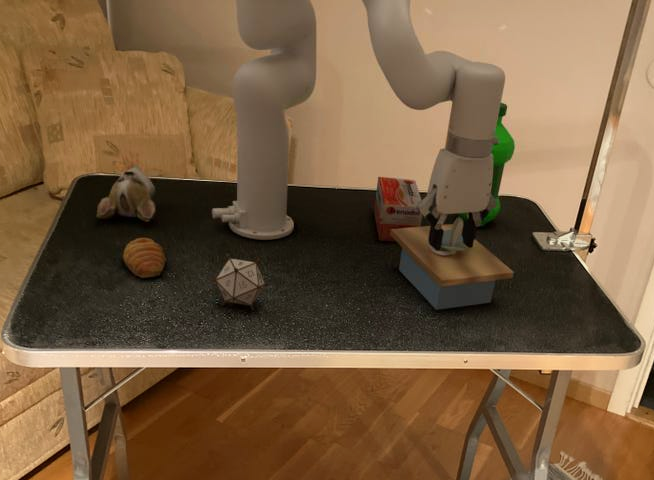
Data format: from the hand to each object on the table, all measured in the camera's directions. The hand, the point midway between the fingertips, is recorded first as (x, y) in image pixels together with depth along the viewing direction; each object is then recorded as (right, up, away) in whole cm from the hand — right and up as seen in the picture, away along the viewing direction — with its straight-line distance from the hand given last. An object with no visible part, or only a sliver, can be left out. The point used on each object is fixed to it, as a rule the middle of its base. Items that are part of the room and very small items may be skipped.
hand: (450, 245), depth 131 cm
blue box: (-1, -7, +4) cm, 8 cm away
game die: (-35, -11, -9) cm, 38 cm away
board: (0, -2, +1) cm, 2 cm away
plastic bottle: (+8, +10, +31) cm, 34 cm away
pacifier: (-1, -1, 0) cm, 1 cm away
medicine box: (-9, +7, +24) cm, 26 cm away
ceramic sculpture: (-61, +8, +14) cm, 63 cm away
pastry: (-53, -4, -2) cm, 53 cm away
